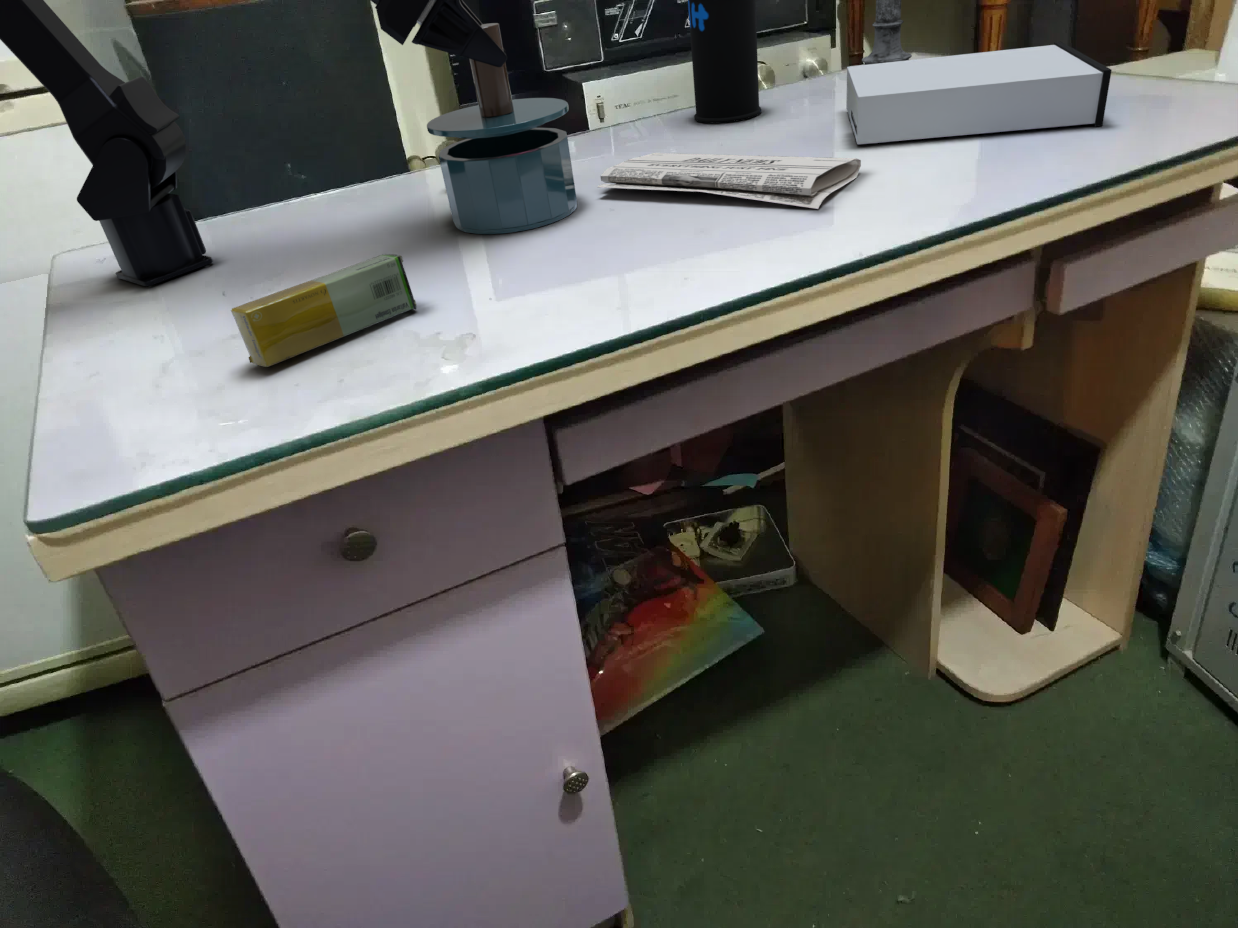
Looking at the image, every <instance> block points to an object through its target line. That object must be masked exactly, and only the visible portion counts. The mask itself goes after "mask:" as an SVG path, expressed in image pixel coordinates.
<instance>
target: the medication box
mask: <svg viewBox="0 0 1238 928" xmlns="http://www.w3.org/2000/svg"><path fill="white" fill-rule="evenodd" d="M417 308H418V305H417V302H416V299H415V297H414V294H413V291H412V288H411V284H410V282H409V279H408V276H407V273H406V269H405V266H404V260H403V257H402V255H400V254H394V253H385V254H384V253H382V254H380V255H378V256H374V257H372V258H369V259H366V260H363V261H361V262H358V263H355V264H352V265H350V266H346V267H344V268H341V269H339V270H336V271H333V272H330V273H327V274H324V275H320V276H318V277H316V278H312V279H310V280H308V281H305V282H302V283H299V284H297V285H294V286H291V287H288V288H285V289H282V290H279V291H277V292H275V293H271V294H268V295H266V296H262V297H260V298H257V299H255V300H252V301H249V302H246V303H244V304H240V305H237V306H235V307H232V308H231V310H230V312H231V315H232V317H233V318H234V320H235V324H236V327H237V328H238V331H239V334H240V336H241V338H242V341H243V343H244V345H245V348H246V350H247V352H248V354H249V356H248V360H249V364H251V363H252V364H254V365H257V366H259V367H260V366H261V367H265V368H269V367H272V366H274V365H276V364H279V363H281V362H284V361H286V360H289V359H291V358H294V357H296V356H299V355H301V354H304V353H307V352H309V351H311V350H314V349H316V348H319V347H322V346H325V345H327V344H329V343H331V342H334V341H336V340H339V339H341V338H344V337H346V336H348V335H352V334H354V333H356V332H359V331H361V330H365V329H366V328H369V327H372V326H374V325H376V324H378V323H381V322H384V321H386V320H388V319H391V318H394V317H396V316H399V315H401V314H404V313H406V312H409V311H412V310H416V311H417Z"/></svg>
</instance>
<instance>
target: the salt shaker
mask: <svg viewBox="0 0 1238 928" xmlns="http://www.w3.org/2000/svg"><path fill="white" fill-rule="evenodd" d="M901 17H902V0H875V21H874V22H873V23H872V27H874V38H873V39H874V42H873V47H872V49H871V50H872V51H871V52H870V53H869V55H867V56H864V57H863V58H862V59H861V62H862V63H863V65H868V64H878V63H887V62H897V61H906V60H910V59H911V58H912V57H913V55H912V53H909V52H906V51H904V49H903V48H902V43H901V34H902V31H901V30H902V24H904V20H903V19H901Z"/></svg>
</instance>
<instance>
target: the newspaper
mask: <svg viewBox="0 0 1238 928" xmlns="http://www.w3.org/2000/svg"><path fill="white" fill-rule="evenodd" d="M861 167H862V160H861V159H859V158H856V157H855V158H853V157H819V156H818V157H817V156H787V155H786V156H783V155H782V156H780V155H746V154H745V155H744V154H712V153H710V154H709V153H707V154H706V153H705V154H704V153H678V152H677V153H675V152H674V153H672V152H653V153H648V154H644V155H641V156H637V157H633V158H629V159H626V160H624V161H622V162H619V163H616V164H615V165H613V166H610V167H608V168H606V169H605V170H604V171H603V172H602V173H601V174H600V176H599V177H600V181H601V182H602V183H601V184H599V185H597V188H604V189H625V190H626V189H627V190H649V191H650V190H651V191H672V192H673V191H674V192H675V191H677V192H695V193H696V192H698V193H699V192H700V193H707V194H713V195H721V196H727V197H732V198H733V197H734V198H740V199H746V200H747V199H748V200H755V201H762V202H769V203H773V204H774V203H775V204H782V205H788V206H796V207H801V208H809V209H817V210H819V208H820V206H821V204H822V203H823V201H824V200H825V199H826V198H827V197H828V196H829V195H830V194H832V193H834V192H836V191H838V190H839V189H841V188H842V187H844V186H845V185H847V184H849V183H851V182H852V181H853V180H855V179H857V178H858V175H859V173H860V169H861Z"/></svg>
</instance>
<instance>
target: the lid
mask: <svg viewBox="0 0 1238 928" xmlns="http://www.w3.org/2000/svg"><path fill="white" fill-rule="evenodd" d="M480 26H481V27H482V28H483V29H484V30H485V31H486V32H487V34H488V35H489V36H490V37H491V38H492V39H493V40H494V41H495V43H496V44H497V45H498V46H499V47H500V48H501V49H502V50H503V48H504V45H503V40H502V33H501V29H500V28H501V27H500V23H498V22H491V23H482V25H480ZM504 50H505V49H504ZM504 50H503V52H504ZM506 62H507V61H505V63H504V64H503V66H502V67H496V66H493V65H489V64H486V63H483V62H479V61H476V60H472V59H469V63H470V69H471V75H472V79H473V84H474V89H475V96H476V99H477V105H473V106H468V107H464V108H460V109H456V110H453V111H450V112H446V113H444V114H441V115H438V116H436V117H434V118H433V119H430V121H428V122H427V124H426V129H427V132H428V133H429V134H430V135H432V136H436V137H442V138H457V139H462V140H465V139H478V138H490V137H498V136H504V135H509V134H514V133H519V132H523V131H527V130H530V129H533V128H540V127H542V126H543V125H545V124H546V123H549V122H552V121H555V120H556V119H559V118H560V117H562V116H565V115H566V114H567V113H568V112H569V103H568V102H567V101H566V100H565V99H561V98H554V97H528V98H527V97H526V98H515V99H513V97H512V90H511V85H510V84H511V83H510V79H509V73H508V67H507V63H506Z"/></svg>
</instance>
